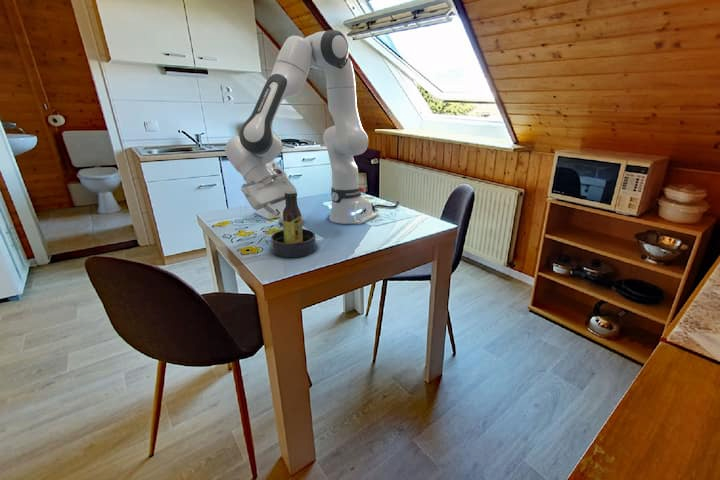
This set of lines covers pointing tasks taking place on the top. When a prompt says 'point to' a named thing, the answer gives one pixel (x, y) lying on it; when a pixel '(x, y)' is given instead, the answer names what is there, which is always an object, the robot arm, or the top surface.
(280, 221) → the donut
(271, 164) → the milk
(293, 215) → the sauce bottle
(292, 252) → the pan
